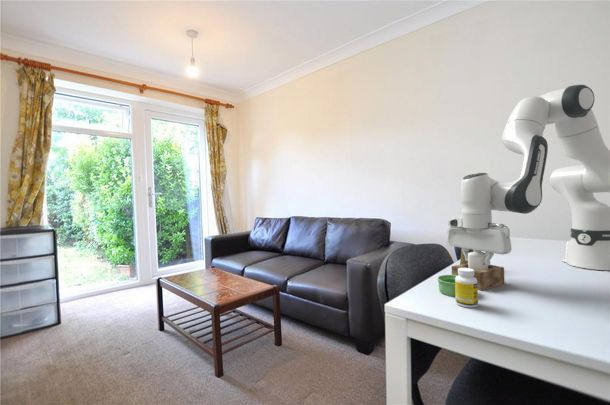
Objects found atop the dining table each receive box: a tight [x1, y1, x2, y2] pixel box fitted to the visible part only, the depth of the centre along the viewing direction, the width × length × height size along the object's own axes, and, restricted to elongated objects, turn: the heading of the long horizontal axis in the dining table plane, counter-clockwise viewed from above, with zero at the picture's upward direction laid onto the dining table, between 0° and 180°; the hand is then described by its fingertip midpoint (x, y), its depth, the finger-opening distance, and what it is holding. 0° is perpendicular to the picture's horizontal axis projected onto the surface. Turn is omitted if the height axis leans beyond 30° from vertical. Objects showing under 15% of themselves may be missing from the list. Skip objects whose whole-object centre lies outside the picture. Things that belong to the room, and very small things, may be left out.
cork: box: [459, 247, 473, 265], centre depth 113 cm, size 6×6×11 cm
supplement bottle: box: [454, 268, 479, 309], centre depth 79 cm, size 5×5×10 cm
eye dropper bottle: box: [468, 250, 488, 271], centre depth 95 cm, size 4×6×12 cm
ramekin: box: [436, 274, 458, 298], centre depth 88 cm, size 9×9×4 cm
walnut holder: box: [451, 263, 505, 292], centre depth 96 cm, size 12×10×6 cm
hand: (477, 263), depth 96 cm, fingers closed on eye dropper bottle, 5 cm apart
